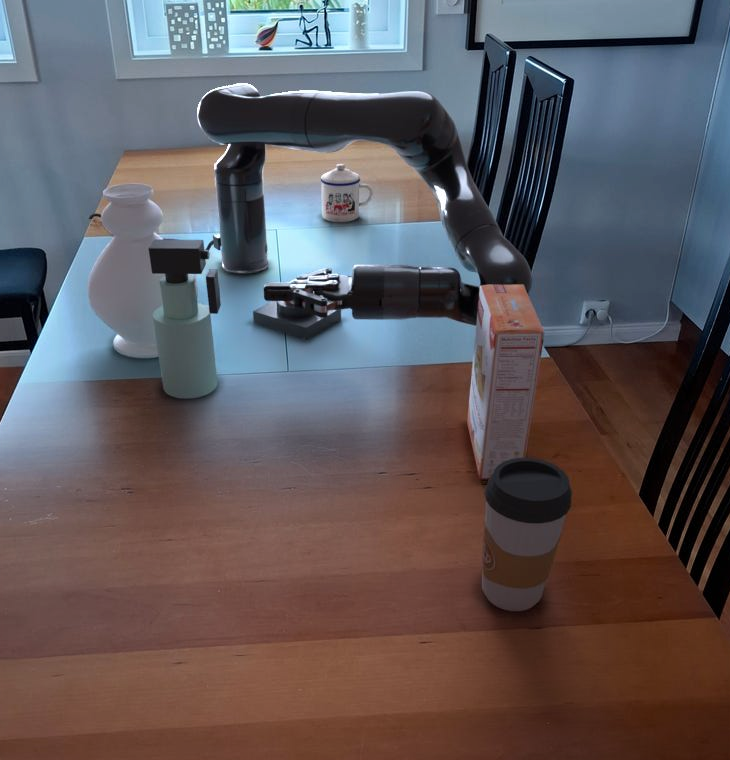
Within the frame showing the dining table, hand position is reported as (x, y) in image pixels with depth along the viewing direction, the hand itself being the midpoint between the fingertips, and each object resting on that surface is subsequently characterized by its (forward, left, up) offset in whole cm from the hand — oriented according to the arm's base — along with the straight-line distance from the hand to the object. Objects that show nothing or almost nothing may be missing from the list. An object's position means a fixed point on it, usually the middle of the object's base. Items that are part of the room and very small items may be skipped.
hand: (264, 291), depth 115 cm
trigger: (-4, -6, -3) cm, 8 cm away
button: (-18, +16, -12) cm, 27 cm away
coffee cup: (+55, -1, -15) cm, 57 cm away
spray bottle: (-7, -10, -15) cm, 20 cm away
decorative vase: (-25, -9, -15) cm, 31 cm away
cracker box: (+33, +16, -15) cm, 39 cm away
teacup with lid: (-62, +56, -15) cm, 85 cm away
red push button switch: (-18, +16, -15) cm, 29 cm away
